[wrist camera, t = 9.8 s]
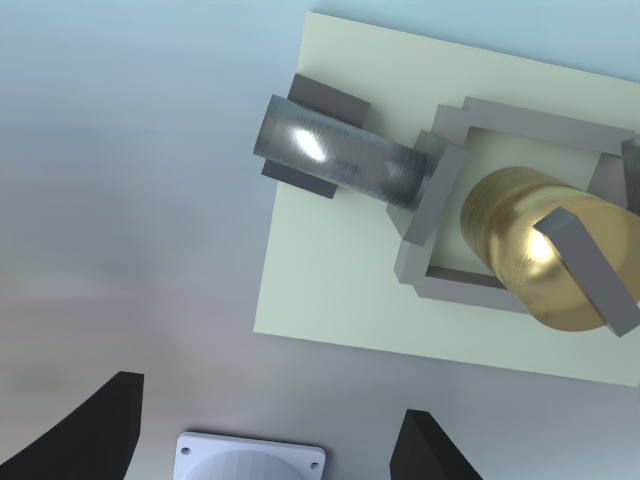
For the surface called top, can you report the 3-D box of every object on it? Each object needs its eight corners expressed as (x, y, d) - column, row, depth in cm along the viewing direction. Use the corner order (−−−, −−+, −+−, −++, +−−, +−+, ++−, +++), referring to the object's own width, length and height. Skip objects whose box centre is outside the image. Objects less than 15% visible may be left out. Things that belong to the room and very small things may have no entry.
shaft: (433, 127, 20) (472, 146, 15) (395, 211, 21) (420, 252, 17) (284, 67, 19) (279, 68, 14) (253, 160, 20) (240, 188, 16)
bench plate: (627, 377, 25) (656, 405, 23) (254, 322, 23) (250, 348, 21) (761, 111, 20) (814, 117, 18) (306, 12, 18) (306, 6, 16)
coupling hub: (578, 222, 21) (696, 288, 14) (495, 281, 22) (573, 367, 15) (525, 143, 19) (629, 178, 13) (439, 209, 20) (499, 271, 14)
